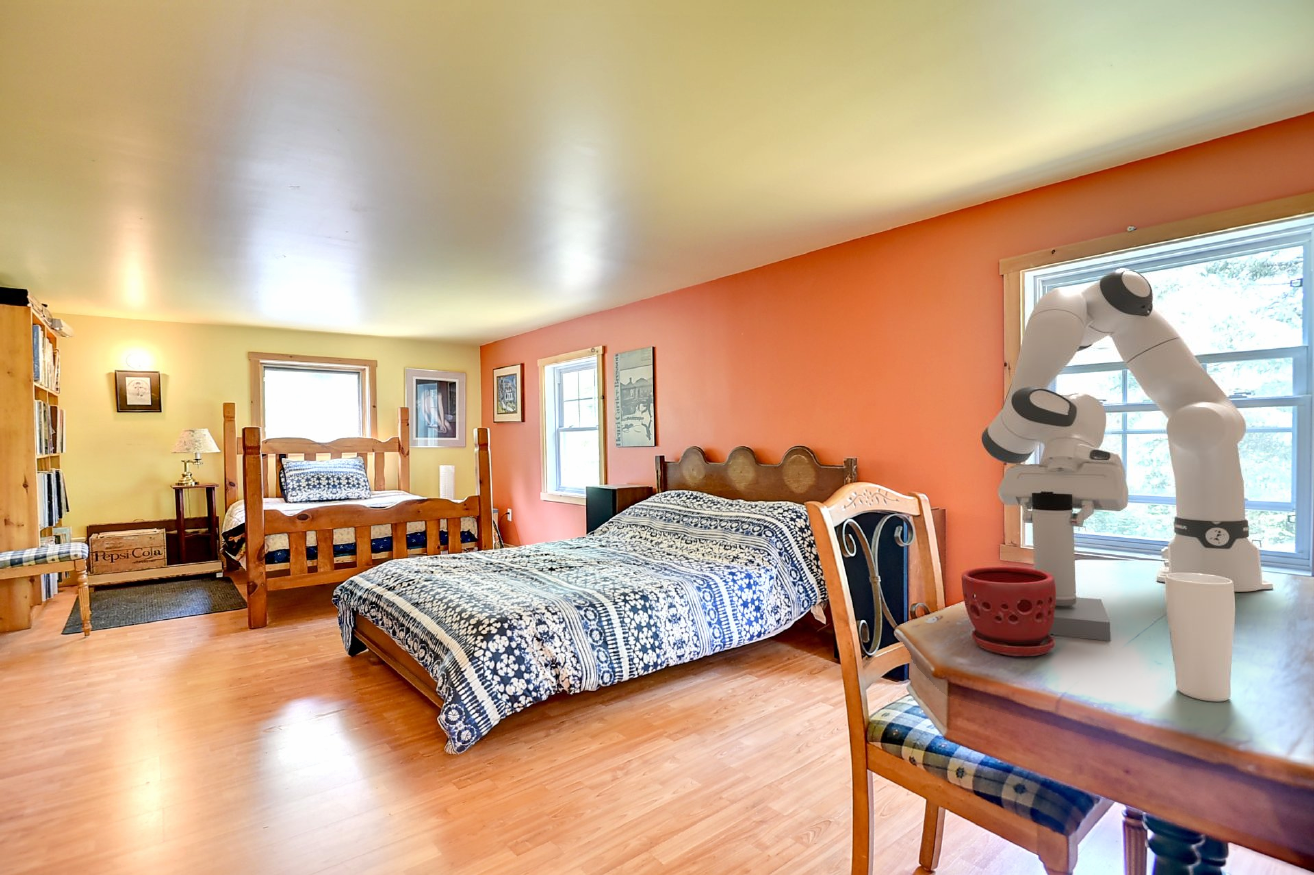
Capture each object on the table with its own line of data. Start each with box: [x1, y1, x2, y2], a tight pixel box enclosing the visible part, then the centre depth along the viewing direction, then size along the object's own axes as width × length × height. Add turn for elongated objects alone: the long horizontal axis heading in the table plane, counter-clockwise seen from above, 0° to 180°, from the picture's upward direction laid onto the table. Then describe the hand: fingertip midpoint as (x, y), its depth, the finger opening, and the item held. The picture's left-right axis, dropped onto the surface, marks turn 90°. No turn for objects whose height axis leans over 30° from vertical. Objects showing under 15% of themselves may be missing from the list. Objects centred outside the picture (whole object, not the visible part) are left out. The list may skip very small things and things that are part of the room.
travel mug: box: [1031, 491, 1077, 606], centre depth 113 cm, size 6×7×20 cm
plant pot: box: [960, 566, 1056, 658], centre depth 101 cm, size 13×13×12 cm
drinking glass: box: [1164, 573, 1236, 703], centre depth 81 cm, size 7×7×15 cm
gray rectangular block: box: [1018, 596, 1112, 642], centre depth 113 cm, size 16×14×3 cm
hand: (1051, 522), depth 113 cm, fingers closed on travel mug, 6 cm apart
